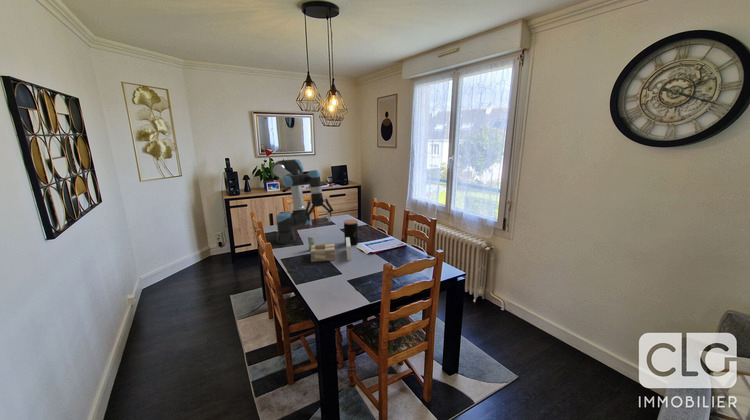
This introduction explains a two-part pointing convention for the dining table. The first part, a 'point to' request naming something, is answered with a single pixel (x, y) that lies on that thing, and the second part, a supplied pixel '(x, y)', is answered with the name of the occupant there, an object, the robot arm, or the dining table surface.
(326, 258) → the socket block
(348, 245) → the wall
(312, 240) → the dowel
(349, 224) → the coffee jar
